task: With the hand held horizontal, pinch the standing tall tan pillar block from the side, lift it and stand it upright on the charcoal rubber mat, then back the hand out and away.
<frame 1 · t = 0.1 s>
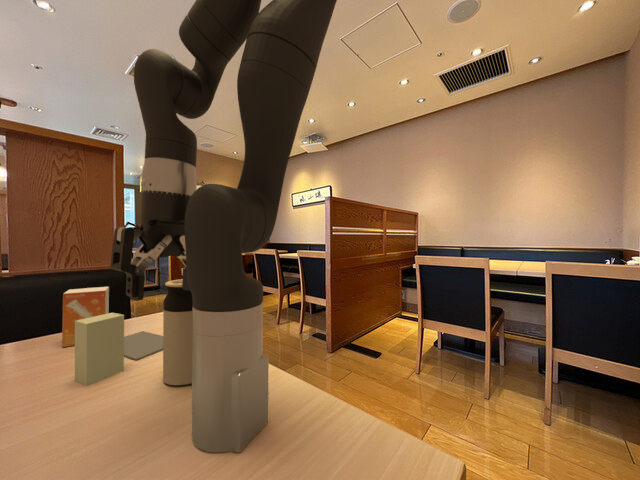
hand: (164, 294, 41), 17 cm above the table, tool pointing down, fingers open, 8 cm apart
travel mug: (187, 376, 49), on the table
tall tan pillar block: (100, 375, 49), on the table
rubber mat: (139, 344, 64), on the table
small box: (86, 341, 66), on the table
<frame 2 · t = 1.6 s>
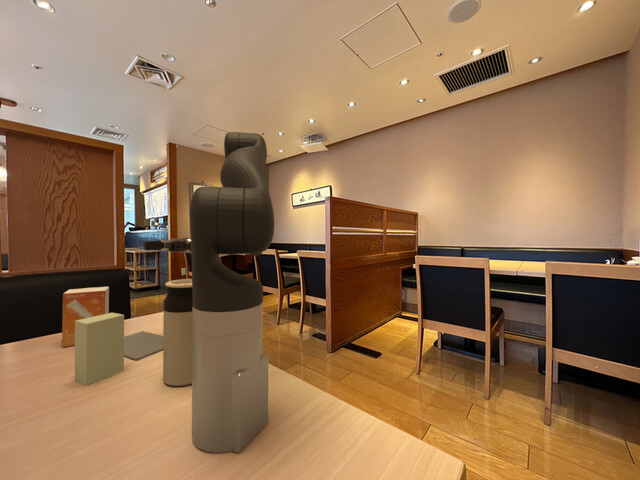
hand: (156, 246, 59), 24 cm above the table, tool horizontal, fingers open, 8 cm apart
nothing on the table moved.
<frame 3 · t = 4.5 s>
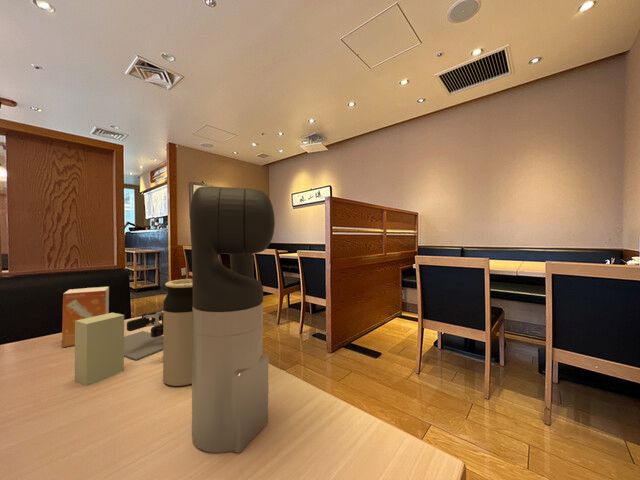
hand: (139, 329, 56), 6 cm above the table, tool horizontal, fingers open, 8 cm apart
nothing on the table moved.
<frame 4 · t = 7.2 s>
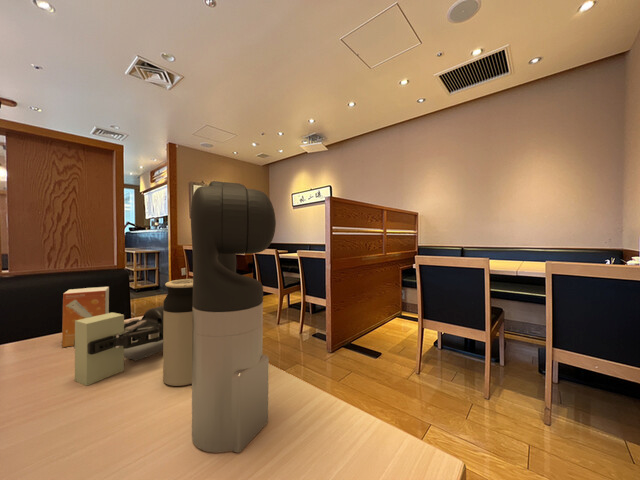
hand: (82, 346, 47), 7 cm above the table, tool horizontal, fingers closed on tall tan pillar block, 4 cm apart
tall tan pillar block: (100, 375, 49), on the table, touching gripper
everything else where it was.
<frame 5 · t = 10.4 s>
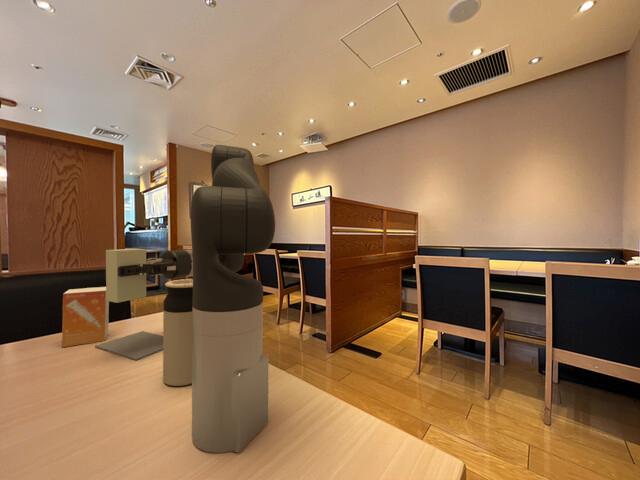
hand: (112, 271, 56), 19 cm above the table, tool horizontal, fingers closed on tall tan pillar block, 4 cm apart
tall tan pillar block: (126, 298, 58), point 13 cm above the table, touching gripper
everything else where it was.
when the fingers open (8 cm above the table, at t = 13.9 s): tall tan pillar block stays where it is, resting on rubber mat.
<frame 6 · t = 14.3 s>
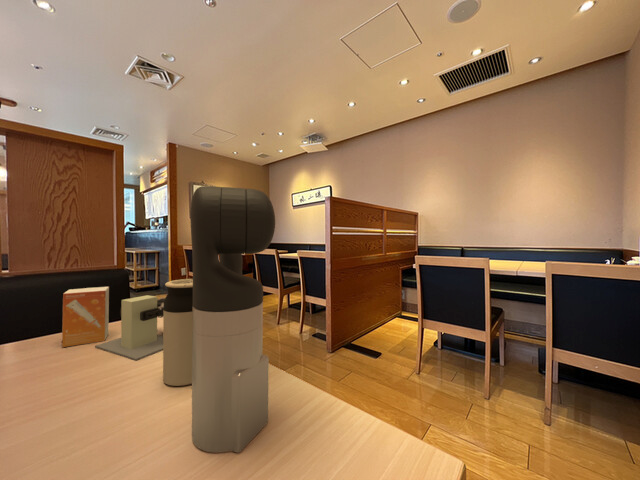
hand: (130, 314, 62), 8 cm above the table, tool horizontal, fingers open, 7 cm apart
tall tan pillar block: (139, 343, 64), resting on rubber mat
everything else where it was.
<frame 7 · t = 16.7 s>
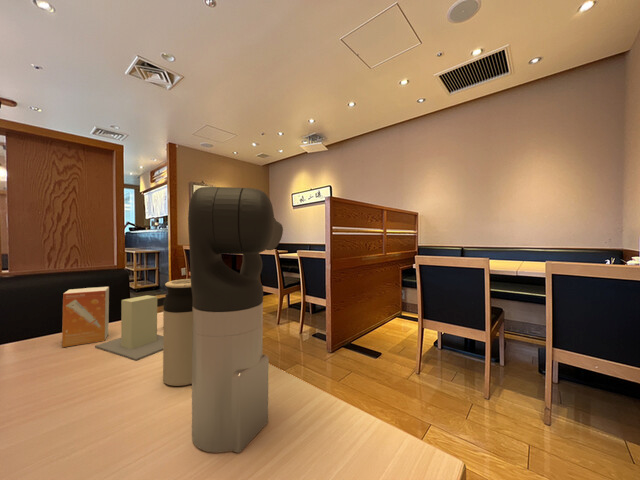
hand: (166, 304, 70), 8 cm above the table, tool horizontal, fingers open, 8 cm apart
nothing on the table moved.
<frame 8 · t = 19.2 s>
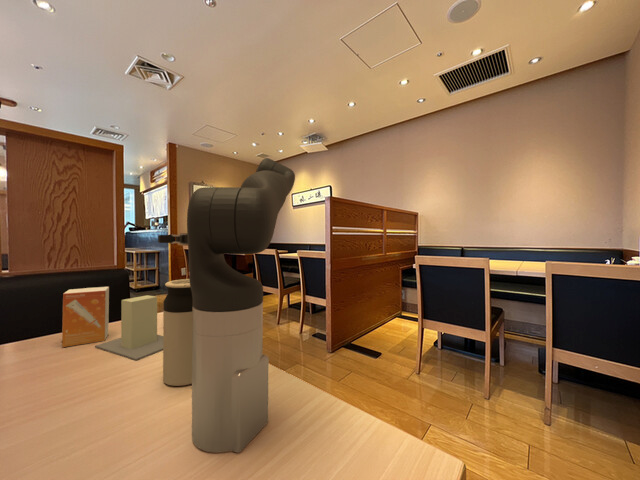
hand: (169, 239, 68), 26 cm above the table, tool horizontal, fingers open, 8 cm apart
nothing on the table moved.
at the end: tall tan pillar block inside the target area on the rubber mat (0.0 cm from its centre), point 0.4 cm above the rubber mat's base; tall tan pillar block tilted 0°; the gripper is holding nothing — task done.
